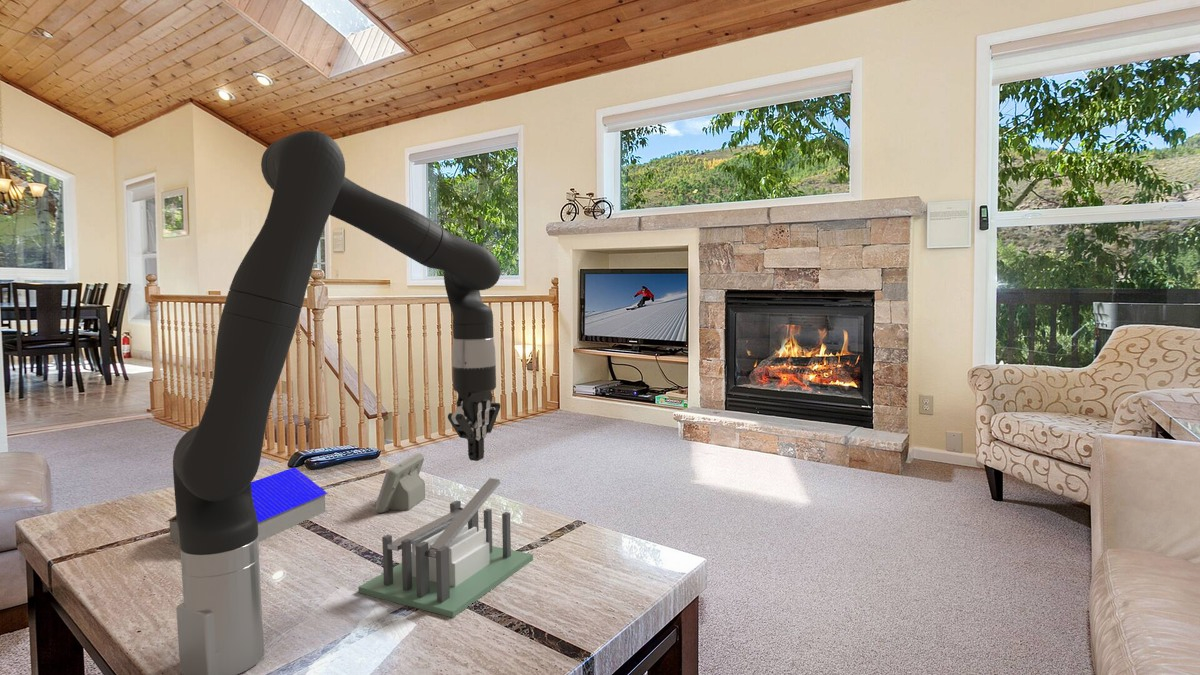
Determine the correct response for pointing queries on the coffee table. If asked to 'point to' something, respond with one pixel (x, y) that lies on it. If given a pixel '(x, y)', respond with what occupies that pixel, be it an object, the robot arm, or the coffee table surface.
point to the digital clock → (402, 485)
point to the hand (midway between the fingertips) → (476, 459)
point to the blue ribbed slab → (279, 503)
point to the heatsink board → (448, 568)
